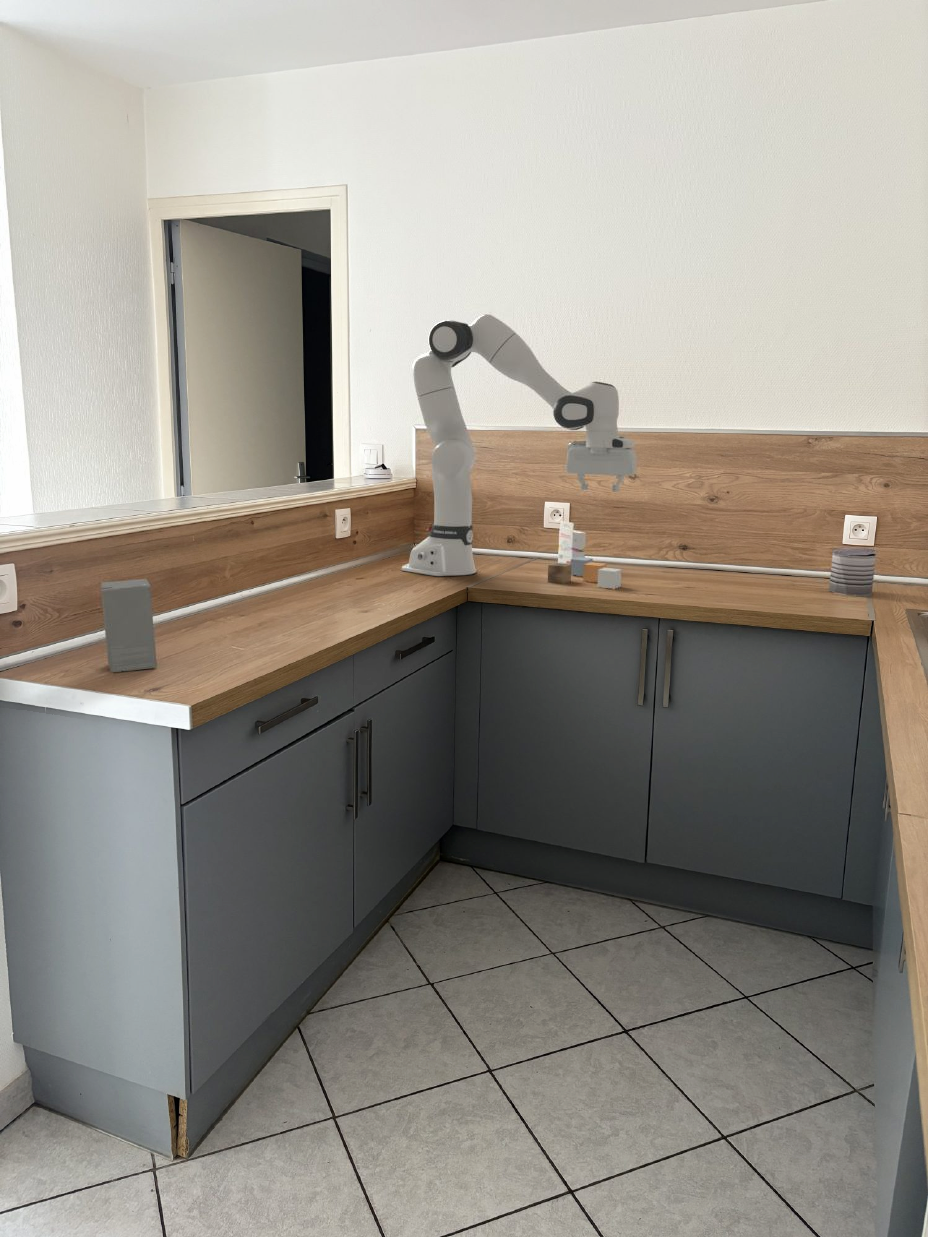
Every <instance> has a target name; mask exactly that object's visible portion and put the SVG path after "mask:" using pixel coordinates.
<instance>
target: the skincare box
mask: <svg viewBox="0 0 928 1237" xmlns="http://www.w3.org/2000/svg"><path fill="white" fill-rule="evenodd" d="M100 589H101V602H102V603H101V604H102V612H103V613H102V614H103V625H104V631H105V633H104V634H105V641H106V642H105V643H106V655H107V664H108V667H109V668H108V669H109V671H111V672H110V673H111V674H113V673H114V672H115V673H121V672H122V671H123V672H130V671H138V670H139V671H141V670H147V669H148V670H150V669H155V668H157V666H158V664H157V652H156V650H157V649H156V641H155V640H156V639H155V627H154V618H153V604H152V593H151V592H152V588H151V585H150V583H149V581H148V580H147V578H141V579H140V578H138V579H130V580H118V581H106V582H105V581H101V582H100Z"/></svg>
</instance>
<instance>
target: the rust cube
mask: <svg viewBox="0 0 928 1237" xmlns="http://www.w3.org/2000/svg"><path fill="white" fill-rule="evenodd" d="M602 568H608V567H607V563H601V562H594V561H593V562H589V563H587V564H584V574H583V577H582V578H583V580H582V581H583V582H585V581H588V583H594V582H598V570H599V569H602Z"/></svg>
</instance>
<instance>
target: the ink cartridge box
mask: <svg viewBox="0 0 928 1237" xmlns="http://www.w3.org/2000/svg"><path fill="white" fill-rule="evenodd" d="M567 526H568V527H567ZM574 527H575V523H574V522H570V521H565V520H560V523H559V531H558V533H559V534H558V552H557V553H558V555H557V563H564V564H571V559H573V558H576V557H582V558H586V557H585V556H586V540H587V539H586V538H587V536H586V535H587V533H586V532H584V531H579V530H574Z"/></svg>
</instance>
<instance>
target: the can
mask: <svg viewBox="0 0 928 1237" xmlns="http://www.w3.org/2000/svg"><path fill="white" fill-rule="evenodd" d="M877 554H878V550H876V549H872V548H863V547H857V548H856V547H854V548H852V547H851V548H849V547H847V548H839V549H835V550H832V557H831V558H832V559H831V565H830V567H831V568H830V577H829V578H830V579H829V585H828V591H829V590H830V591H833V592H835V593H841V594H845V595H856V596H855V597H860V596H861V597H870V596H871V595H872V594H873V588H874V587H873V586H874V576H875V568H876V559H877ZM845 595H844V596H845Z"/></svg>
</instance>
